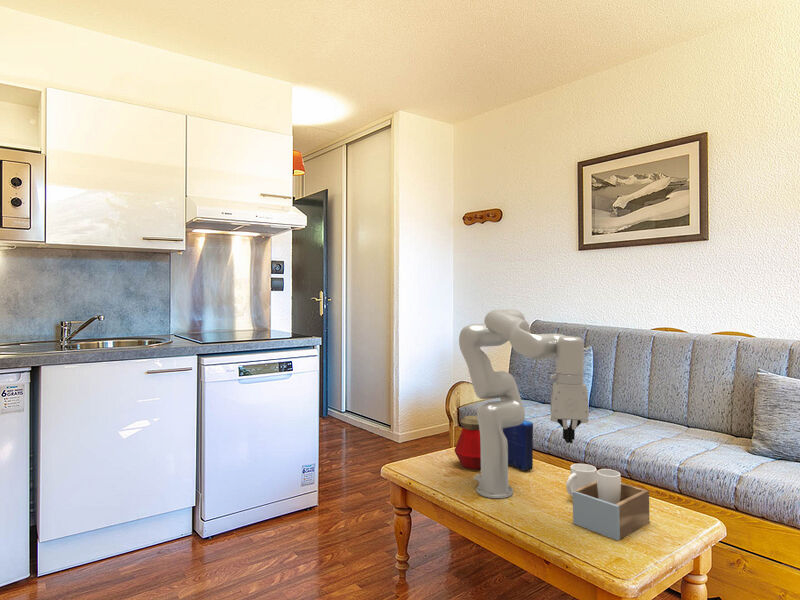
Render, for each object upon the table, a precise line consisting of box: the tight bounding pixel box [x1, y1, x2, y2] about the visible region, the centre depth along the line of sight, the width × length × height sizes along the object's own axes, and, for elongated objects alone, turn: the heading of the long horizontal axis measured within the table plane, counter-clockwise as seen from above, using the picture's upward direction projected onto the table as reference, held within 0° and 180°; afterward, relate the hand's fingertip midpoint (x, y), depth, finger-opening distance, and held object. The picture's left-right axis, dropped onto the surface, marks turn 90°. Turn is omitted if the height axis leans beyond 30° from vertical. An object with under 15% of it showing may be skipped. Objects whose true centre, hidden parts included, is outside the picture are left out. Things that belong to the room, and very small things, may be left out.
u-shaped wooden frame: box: [574, 481, 650, 540], centre depth 147 cm, size 14×17×10 cm
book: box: [502, 419, 534, 472], centre depth 198 cm, size 14×5×20 cm, turn 29°
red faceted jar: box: [454, 415, 481, 471], centre depth 199 cm, size 16×14×20 cm
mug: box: [565, 463, 598, 498], centre depth 165 cm, size 12×8×10 cm
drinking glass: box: [596, 468, 622, 504], centre depth 147 cm, size 7×7×15 cm
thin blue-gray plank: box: [572, 491, 621, 542], centre depth 141 cm, size 14×1×10 cm, turn 38°
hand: (568, 441), depth 142 cm, fingers closed
